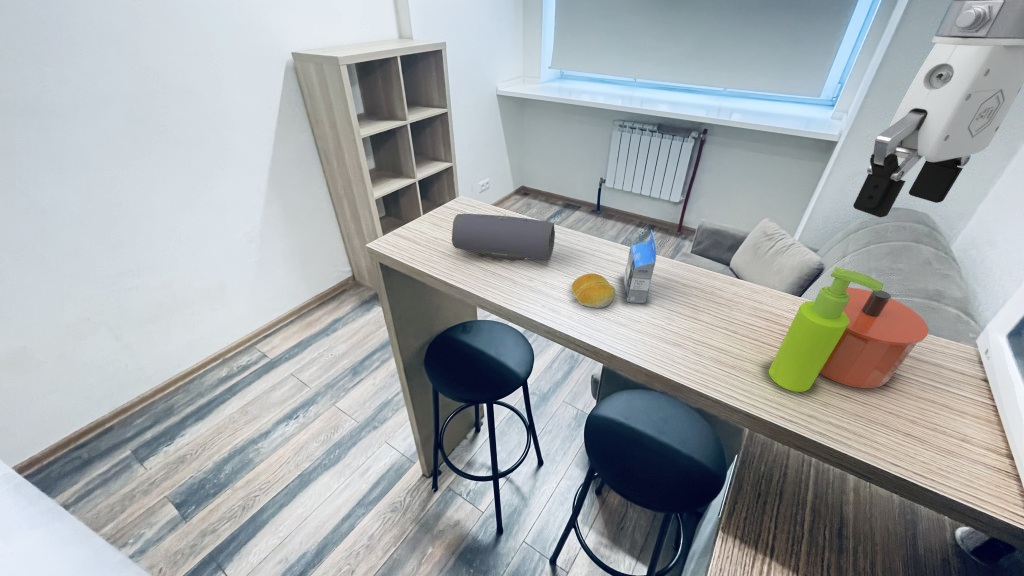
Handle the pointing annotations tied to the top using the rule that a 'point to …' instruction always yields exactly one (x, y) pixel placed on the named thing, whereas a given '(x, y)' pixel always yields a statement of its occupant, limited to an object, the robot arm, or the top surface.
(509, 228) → the bluetooth speaker
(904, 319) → the pot lid
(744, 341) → the top surface
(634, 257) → the label tape box
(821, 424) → the top surface
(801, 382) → the soap dispenser
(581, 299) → the bread roll
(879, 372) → the pot
